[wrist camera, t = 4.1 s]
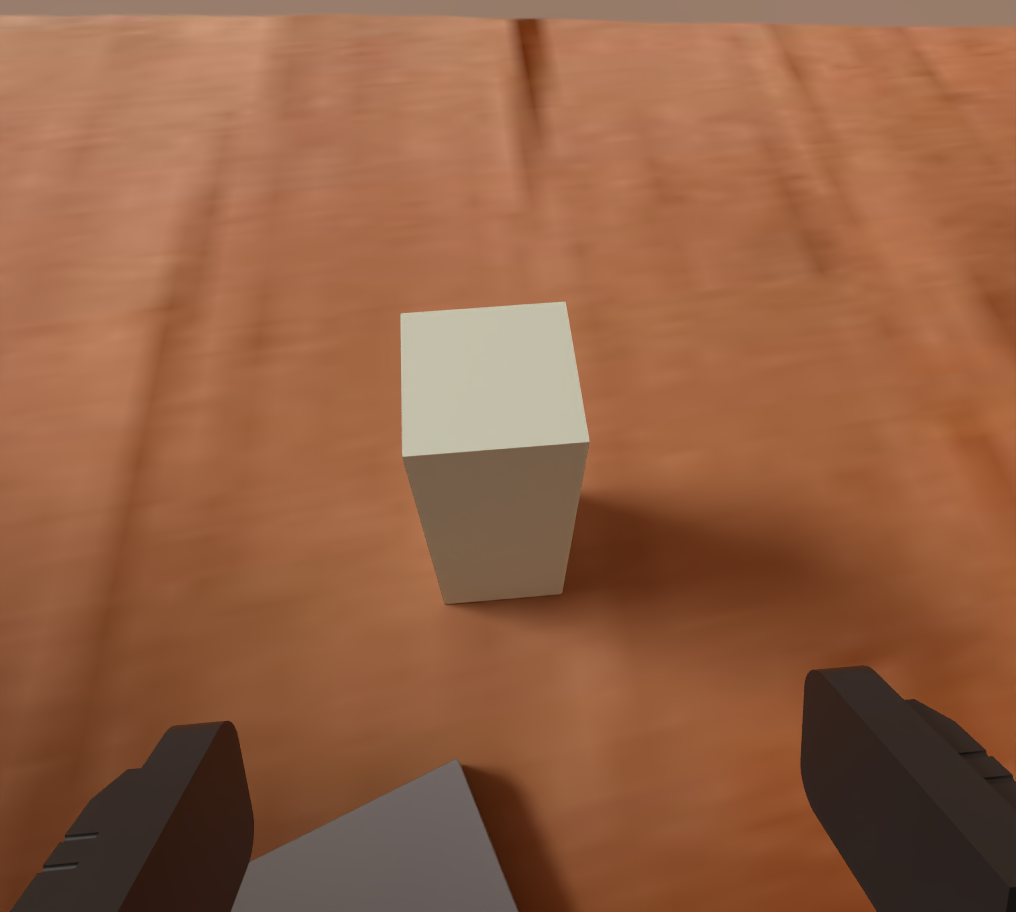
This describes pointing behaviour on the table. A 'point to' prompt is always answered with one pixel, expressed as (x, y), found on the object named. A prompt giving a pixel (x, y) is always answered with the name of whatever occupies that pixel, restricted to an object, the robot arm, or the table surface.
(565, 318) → the sage block
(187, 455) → the table surface
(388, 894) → the grey base with frame
